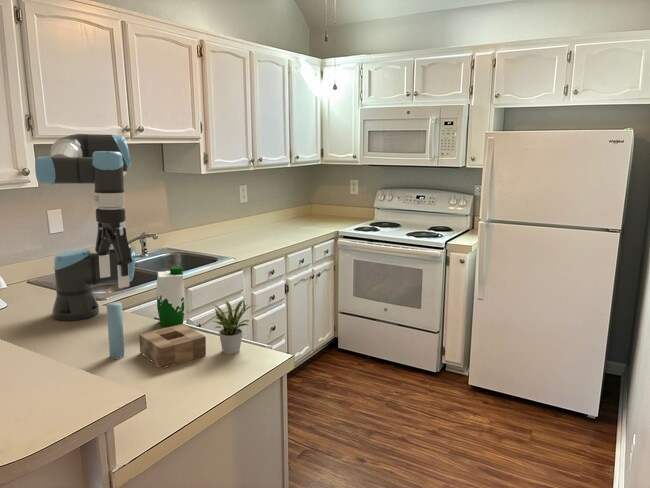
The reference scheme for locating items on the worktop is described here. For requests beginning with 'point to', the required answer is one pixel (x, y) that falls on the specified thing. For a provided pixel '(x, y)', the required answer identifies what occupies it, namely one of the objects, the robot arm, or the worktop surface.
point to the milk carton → (170, 297)
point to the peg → (115, 329)
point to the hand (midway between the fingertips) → (114, 281)
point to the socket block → (172, 345)
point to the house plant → (231, 328)
